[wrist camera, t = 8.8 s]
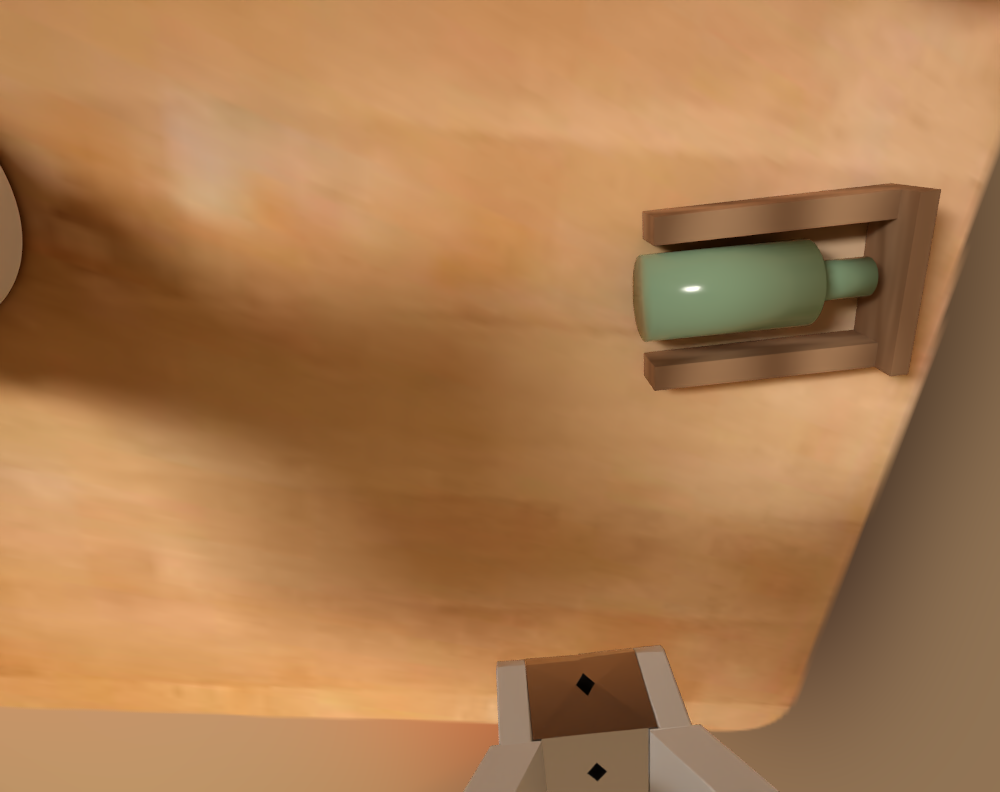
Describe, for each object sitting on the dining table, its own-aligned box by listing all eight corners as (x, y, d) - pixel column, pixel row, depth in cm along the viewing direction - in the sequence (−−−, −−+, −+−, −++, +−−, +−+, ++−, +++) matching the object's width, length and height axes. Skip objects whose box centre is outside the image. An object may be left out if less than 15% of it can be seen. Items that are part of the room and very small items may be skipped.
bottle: (656, 344, 32) (893, 321, 32) (650, 251, 31) (894, 227, 31) (635, 338, 37) (842, 318, 36) (630, 258, 36) (841, 236, 36)
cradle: (644, 375, 38) (661, 400, 34) (642, 211, 34) (662, 220, 30) (866, 350, 38) (908, 374, 34) (891, 183, 34) (940, 189, 30)
